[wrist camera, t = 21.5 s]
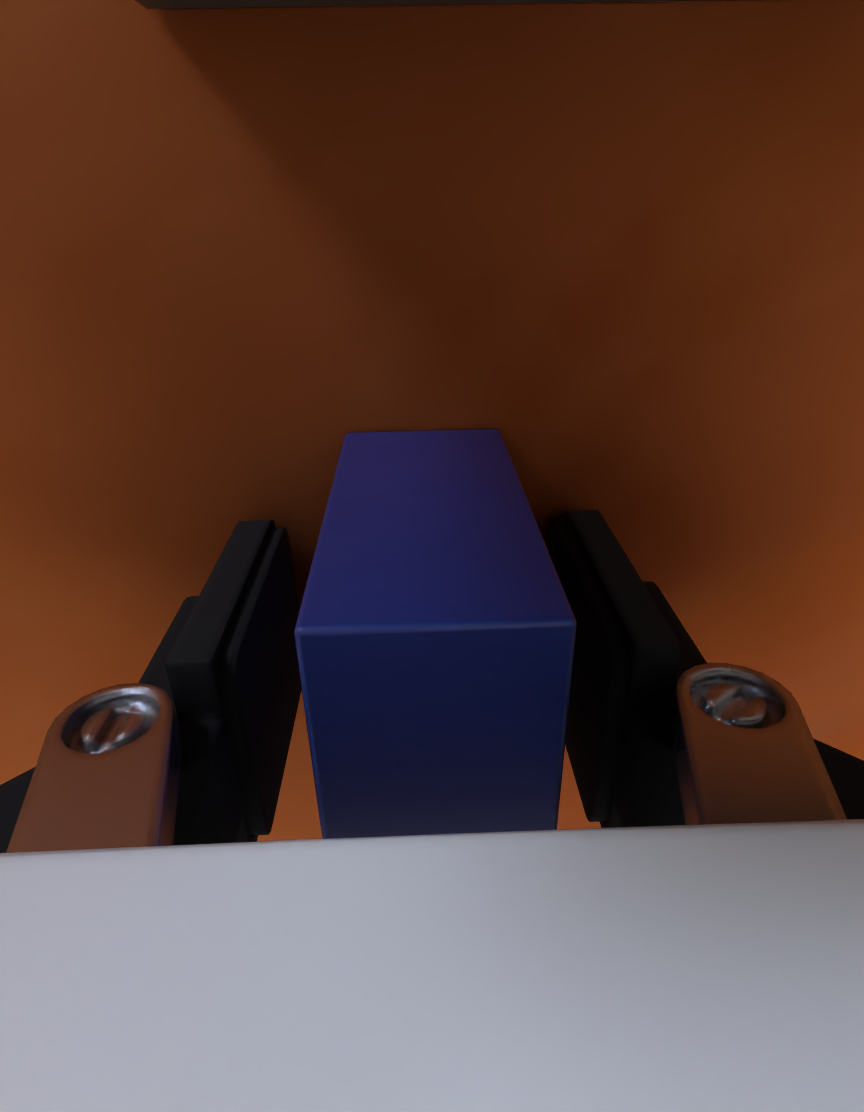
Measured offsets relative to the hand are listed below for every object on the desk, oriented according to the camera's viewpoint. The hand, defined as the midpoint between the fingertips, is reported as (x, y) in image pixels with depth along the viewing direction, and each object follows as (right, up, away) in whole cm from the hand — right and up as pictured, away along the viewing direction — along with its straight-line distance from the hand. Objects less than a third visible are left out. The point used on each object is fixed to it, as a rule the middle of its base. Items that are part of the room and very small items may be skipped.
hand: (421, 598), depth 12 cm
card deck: (0, 0, 0) cm, 0 cm away
